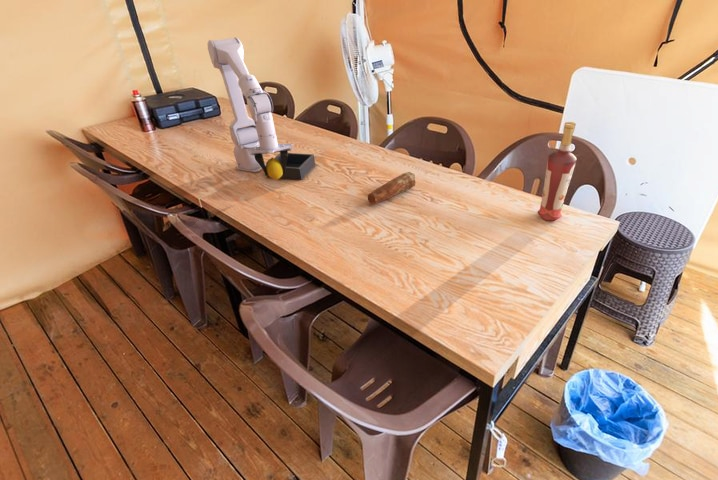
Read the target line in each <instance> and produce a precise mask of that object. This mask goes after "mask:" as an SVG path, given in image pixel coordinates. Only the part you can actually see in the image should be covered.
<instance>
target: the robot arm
mask: <svg viewBox="0 0 718 480" xmlns="http://www.w3.org/2000/svg"><path fill="white" fill-rule="evenodd" d="M207 51H208V55H209V57H210V62H211V64H212V66H213V68H215V69H217V70H219V72H220V74H221V77H222V80H223V83H224V87H225V90H226V94H227V97H228V100H229V103H230V107H231V111H232V113H233V117H234V119H233V120H232V122H231V123H230V124H229V128H228V129H229V131H230V137H231V141H232V143H233V144H234V147H233V155H234V157H235V158H234V159H235V163H236V165H237V167H236V170H237V171H238V170H239V171H244V172H251V173H258V172H260V171H261V170H262V171H263V173H264V175H265V177H267V176H268V174H267V171H266V167H265V166H266V163H267V162H265V160H264V155H267V154H268V155H269V154H275V153H279V154H280V155H281V159H282V166H283V172H284V173H286V161H287V158H288V153H289V152H293V151H294V148H293V143H278V137H277V133H276V128H275V127H276V126H275V123H274V118H273V112H274V103H273V99H272V97H271V96H270V94H269V92H267V91H266V90H263V89H262V87H261V84H259V81H258V80H257V78H256V77H255V75H253V74H250V72H249V70H248V67H247V65H246V63H245V62H244V60H245V51H244V46H243V43H242V41H241V40H240V39H239V38H238V37H237V36H235V37H231V38H223V39H221V38H220V39H213V40H212V39H208V41H207ZM244 97H245V100H246V104H245V100H244ZM246 105H247V106H246ZM247 108H248V110H249V113H250V115H251V117H250V116H249V113H248V110H247Z"/></svg>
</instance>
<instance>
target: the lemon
mask: <svg viewBox="0 0 718 480" xmlns="http://www.w3.org/2000/svg"><path fill="white" fill-rule="evenodd" d="M265 163H266V171H267V174H268V175H269V176H270V177H271V178H270V179H273V180H275V181H278V180H280V179H281V178H280V177H281V176H282V175H283V166H282V164H281V162H280V161H279V160H278V159H275V157H270V158H269V159H267V161H266V162H265Z"/></svg>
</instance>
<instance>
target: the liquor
mask: <svg viewBox="0 0 718 480" xmlns="http://www.w3.org/2000/svg"><path fill="white" fill-rule="evenodd" d="M576 125H577V124H576V122H574V121H566V122H564V125H563V134H562V137H561V141H560V144H559V147H558V150H557V151H553V152H551V153H549V155H548V157H547V164H546V169H545V175H544V183H543V189H542V196H541V201H540V206H539V210H538V211H537V215H538V216H539V217H540V218H541V219H542V220H544V221H546V222H555V221H557V220H559V219H561V218H562V215H563V214H562V210H563V207H564V202H565V198H566V195H567V192H568V188H569V186H570V183H571V179H572V178H573V173H574V170H575V167H576V164H577V157H576V156H575V154H574V153H572V152H571V146H572V140H573V135H574V132H575V130H576Z"/></svg>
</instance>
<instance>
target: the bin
mask: <svg viewBox="0 0 718 480" xmlns="http://www.w3.org/2000/svg"><path fill="white" fill-rule="evenodd" d="M274 158H275V159H278V160H279V161H280V162H281V164H282V159H281V155H280V153H278V154H277V155H276V156H275V157H274ZM315 166H316V160H315V155H314V153H313V154H311V153H310V154H309V153H299V152H298V153H297V152H296V153H295V152H288V158H287V161H286V173H284V172H283V175H282V176H281V177H280V178H279V179H282V180H295V181H296V180H297V181H302V180H303V179H304V178H305V177H306V176H307V175H308V174H310V172H311V171H312V170H313V169H314V167H315ZM265 167H266V166H265ZM266 178H269V179H272V178H271V177H270V176H269V175H268V176H266Z"/></svg>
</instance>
